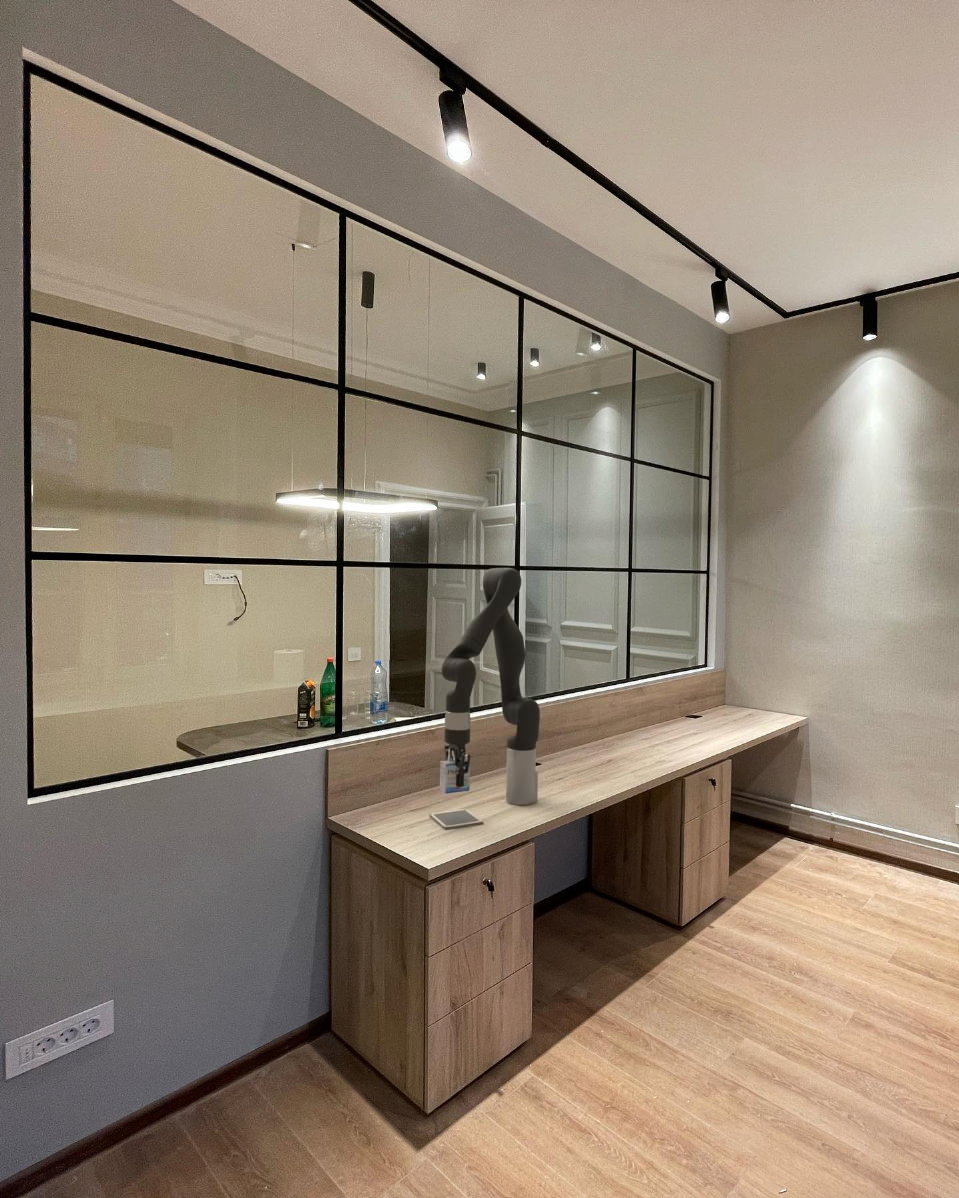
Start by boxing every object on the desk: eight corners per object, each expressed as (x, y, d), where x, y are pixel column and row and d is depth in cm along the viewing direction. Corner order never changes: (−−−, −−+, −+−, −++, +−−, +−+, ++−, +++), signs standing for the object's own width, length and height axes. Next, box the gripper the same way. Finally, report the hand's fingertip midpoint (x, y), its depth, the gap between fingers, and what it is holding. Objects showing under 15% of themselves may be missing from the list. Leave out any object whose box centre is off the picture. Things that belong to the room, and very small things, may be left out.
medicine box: (444, 794, 196) (445, 764, 196) (439, 789, 200) (439, 760, 200) (469, 791, 199) (470, 761, 199) (463, 786, 203) (464, 757, 203)
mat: (466, 810, 208) (466, 808, 208) (483, 823, 197) (483, 821, 197) (429, 816, 203) (429, 813, 203) (444, 829, 192) (445, 827, 192)
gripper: (479, 730, 195) (478, 789, 195) (459, 720, 207) (458, 776, 208) (455, 732, 191) (454, 792, 192) (436, 722, 204) (435, 779, 205)
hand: (456, 784), depth 200 cm, fingers closed on medicine box, 4 cm apart
